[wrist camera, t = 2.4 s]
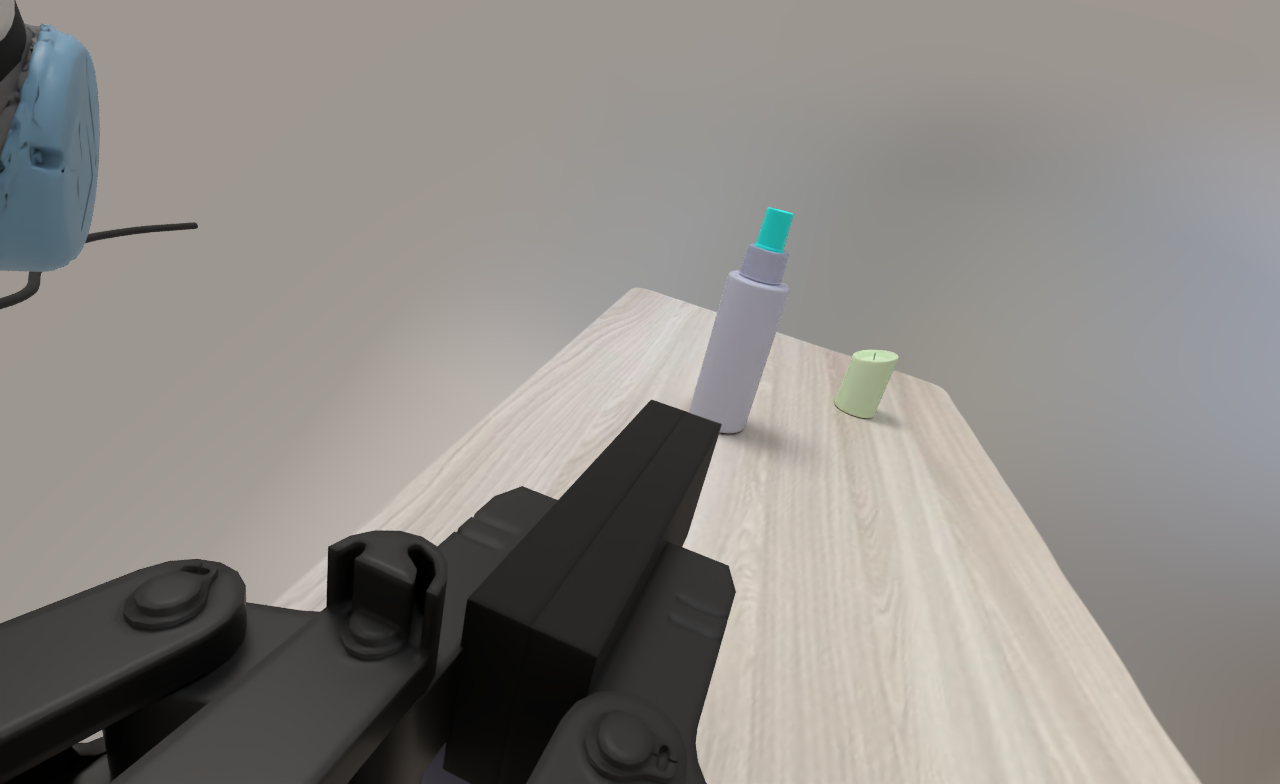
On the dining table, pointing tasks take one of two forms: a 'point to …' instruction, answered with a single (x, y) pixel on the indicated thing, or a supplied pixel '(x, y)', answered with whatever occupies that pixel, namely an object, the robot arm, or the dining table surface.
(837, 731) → the dining table surface
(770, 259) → the spray bottle
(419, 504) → the dining table surface
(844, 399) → the candle
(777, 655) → the dining table surface
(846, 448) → the dining table surface
